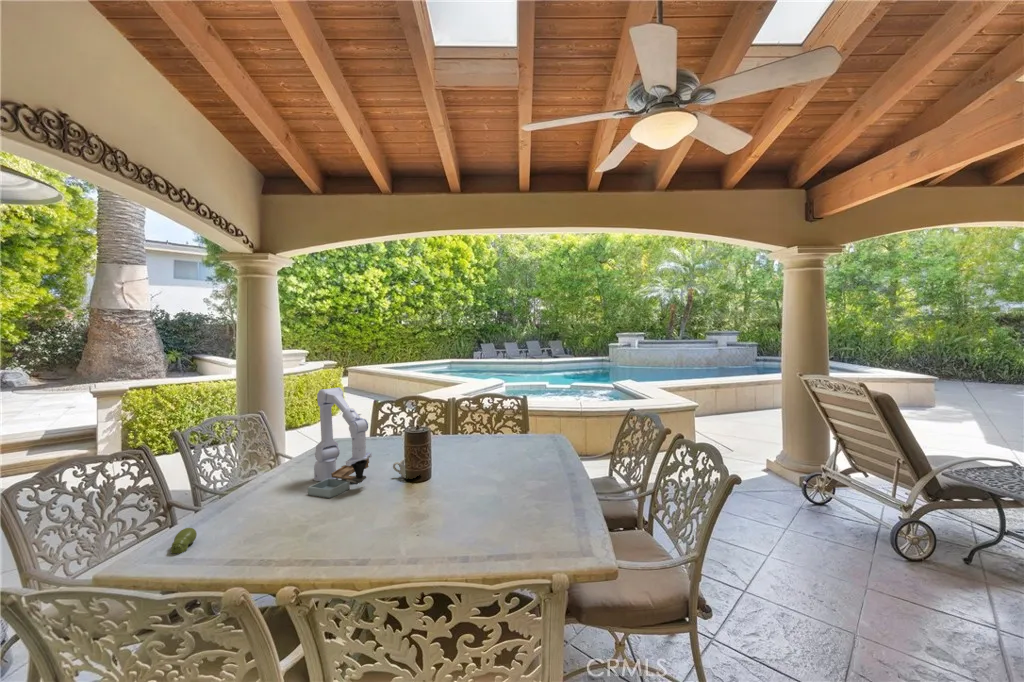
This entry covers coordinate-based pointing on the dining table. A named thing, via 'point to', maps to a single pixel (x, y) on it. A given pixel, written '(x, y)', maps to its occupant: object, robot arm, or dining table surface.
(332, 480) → the tray
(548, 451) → the dining table surface
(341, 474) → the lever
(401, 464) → the teacup
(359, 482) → the stand
